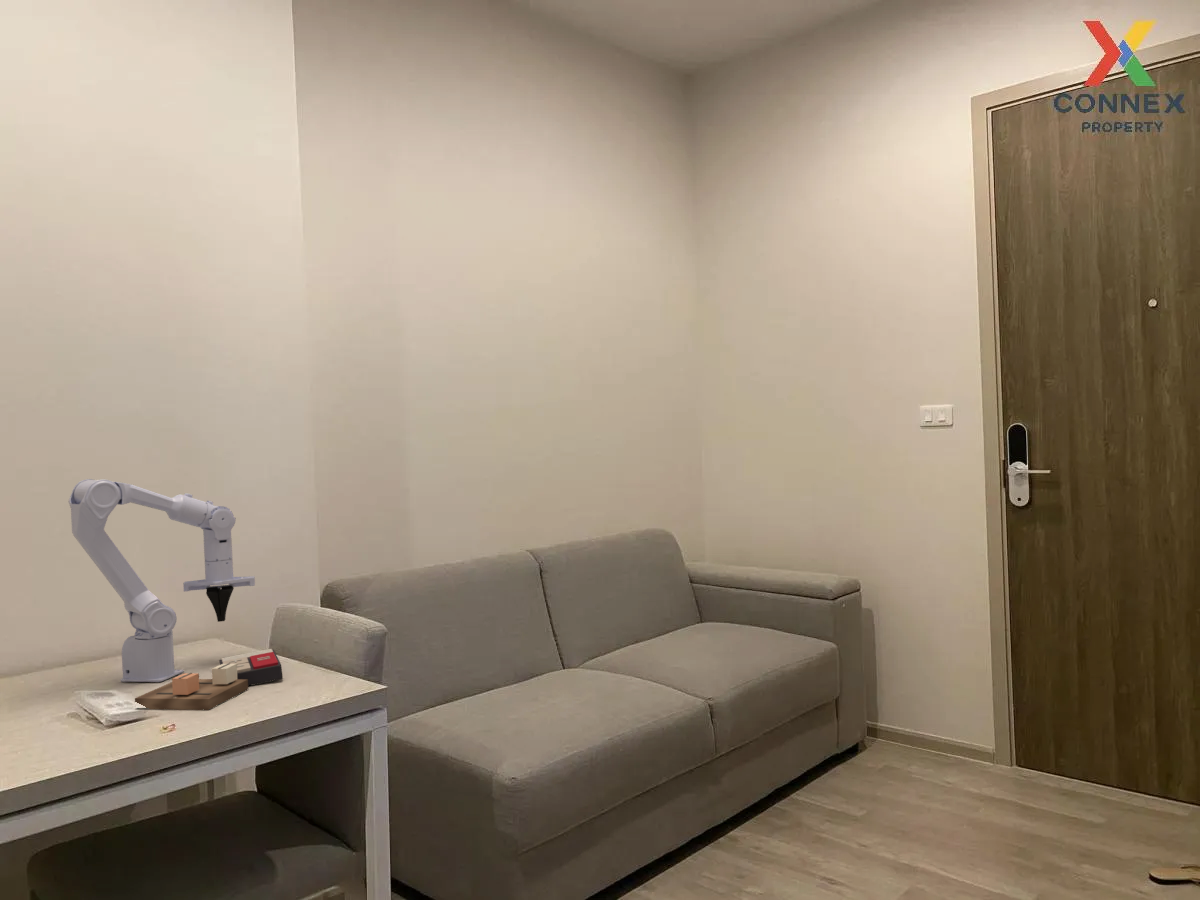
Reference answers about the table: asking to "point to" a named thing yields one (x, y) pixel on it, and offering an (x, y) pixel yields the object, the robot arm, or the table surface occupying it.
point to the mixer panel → (192, 696)
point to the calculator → (256, 666)
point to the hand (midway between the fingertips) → (221, 620)
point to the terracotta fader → (185, 683)
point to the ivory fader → (224, 673)
